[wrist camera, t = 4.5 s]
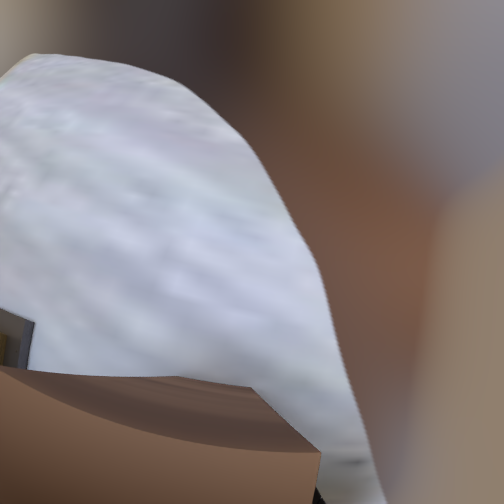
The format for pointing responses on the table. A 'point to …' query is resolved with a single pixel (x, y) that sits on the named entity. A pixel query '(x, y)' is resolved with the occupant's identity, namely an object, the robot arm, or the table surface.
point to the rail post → (146, 442)
